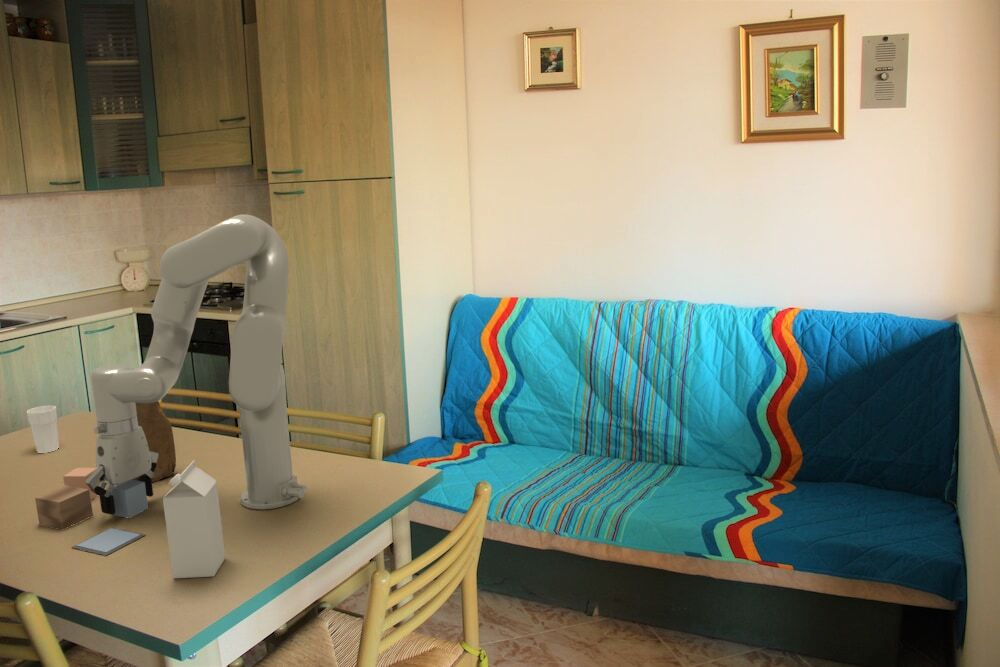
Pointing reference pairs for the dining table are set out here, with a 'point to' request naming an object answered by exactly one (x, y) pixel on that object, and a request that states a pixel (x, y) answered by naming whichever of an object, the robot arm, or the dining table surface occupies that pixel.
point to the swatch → (108, 541)
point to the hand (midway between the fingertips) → (128, 504)
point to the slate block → (129, 498)
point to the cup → (44, 428)
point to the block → (157, 438)
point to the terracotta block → (80, 479)
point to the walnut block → (63, 507)
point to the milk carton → (194, 524)
